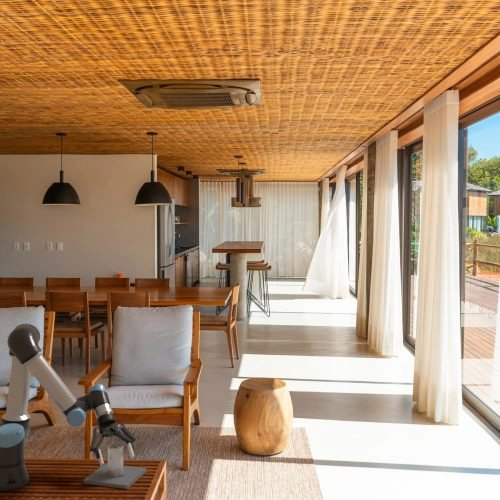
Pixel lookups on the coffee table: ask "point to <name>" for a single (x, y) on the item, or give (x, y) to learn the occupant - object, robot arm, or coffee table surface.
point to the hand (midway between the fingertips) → (117, 461)
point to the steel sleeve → (115, 460)
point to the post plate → (122, 481)
